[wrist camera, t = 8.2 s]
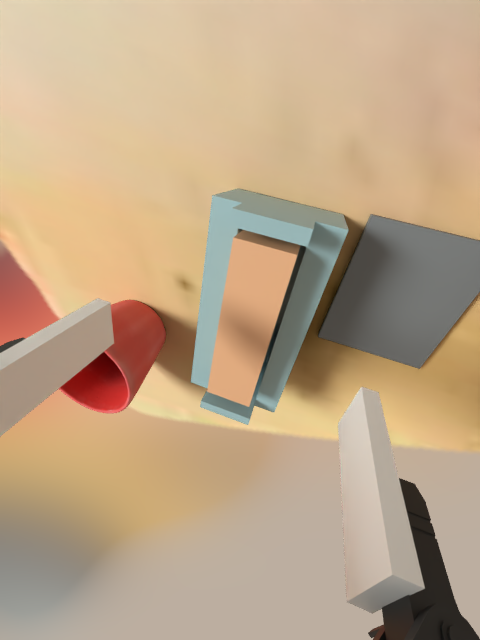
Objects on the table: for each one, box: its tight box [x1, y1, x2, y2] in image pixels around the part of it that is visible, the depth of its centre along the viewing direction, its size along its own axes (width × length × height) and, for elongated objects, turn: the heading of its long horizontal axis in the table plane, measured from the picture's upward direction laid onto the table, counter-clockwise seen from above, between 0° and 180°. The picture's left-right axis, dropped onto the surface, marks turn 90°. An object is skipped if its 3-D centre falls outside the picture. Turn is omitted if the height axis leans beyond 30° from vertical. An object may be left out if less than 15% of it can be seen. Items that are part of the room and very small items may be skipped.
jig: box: [191, 189, 348, 425], centre depth 23 cm, size 18×9×9 cm, turn 169°
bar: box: [207, 230, 301, 407], centre depth 21 cm, size 14×4×4 cm, turn 169°
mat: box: [318, 214, 480, 369], centre depth 23 cm, size 12×10×1 cm
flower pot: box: [59, 300, 166, 413], centre depth 30 cm, size 11×11×10 cm
